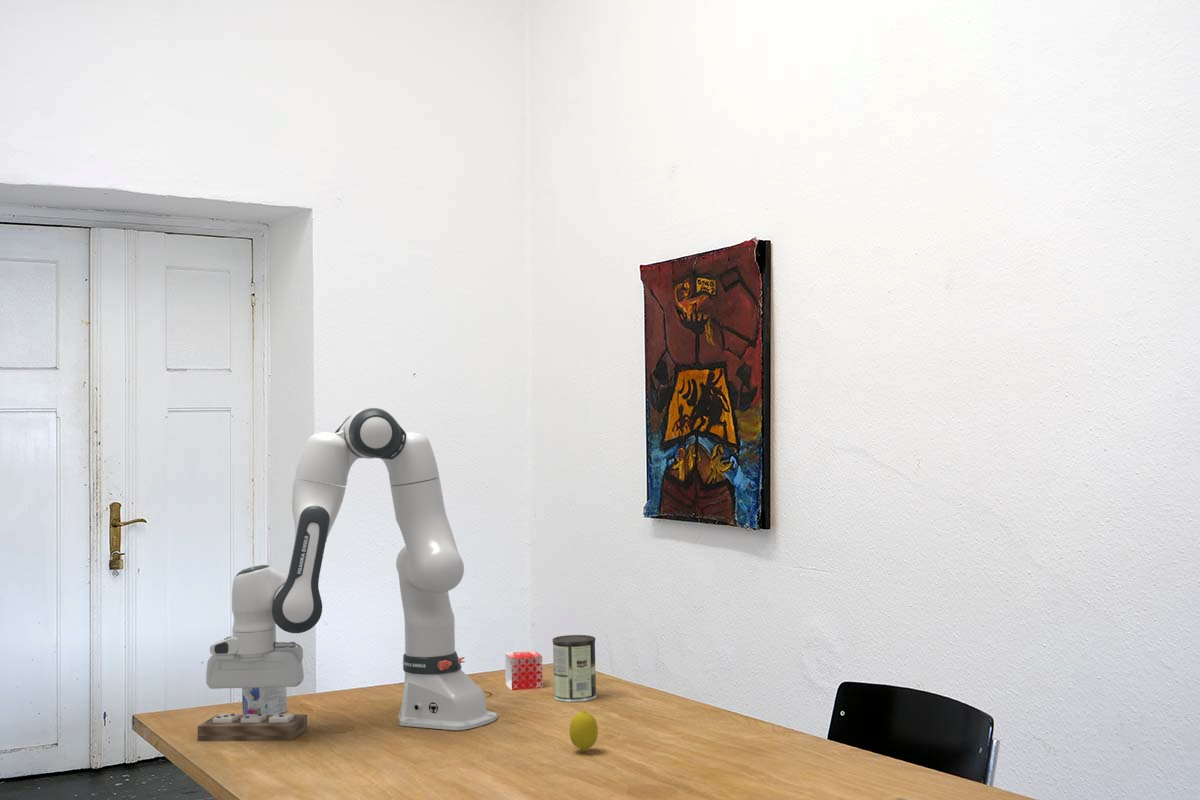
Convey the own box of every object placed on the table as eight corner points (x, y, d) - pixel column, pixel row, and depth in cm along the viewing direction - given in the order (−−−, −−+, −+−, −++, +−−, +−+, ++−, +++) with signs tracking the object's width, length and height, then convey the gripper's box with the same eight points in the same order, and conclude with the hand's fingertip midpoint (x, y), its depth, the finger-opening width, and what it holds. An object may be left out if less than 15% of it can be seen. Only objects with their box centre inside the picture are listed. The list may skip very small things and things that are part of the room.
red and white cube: (542, 688, 278) (542, 656, 279) (511, 690, 276) (511, 658, 277) (535, 682, 286) (535, 650, 286) (505, 684, 284) (505, 652, 284)
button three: (238, 725, 239) (238, 713, 239) (231, 730, 235) (231, 717, 235) (220, 725, 239) (220, 713, 239) (212, 730, 235) (212, 717, 235)
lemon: (601, 749, 220) (601, 707, 220) (592, 756, 215) (591, 714, 215) (575, 747, 222) (574, 706, 222) (565, 754, 216) (565, 712, 217)
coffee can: (573, 691, 274) (572, 633, 274) (605, 696, 267) (604, 637, 268) (544, 698, 266) (543, 639, 267) (576, 704, 259) (575, 643, 260)
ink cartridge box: (268, 710, 260) (268, 647, 260) (288, 711, 258) (287, 648, 258) (240, 719, 250) (240, 654, 251) (260, 721, 248) (260, 655, 249)
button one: (293, 725, 238) (293, 713, 238) (287, 730, 234) (287, 717, 234) (275, 725, 238) (275, 713, 239) (268, 730, 235) (268, 717, 235)
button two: (266, 725, 239) (266, 713, 239) (259, 730, 235) (259, 717, 235) (247, 725, 239) (247, 713, 239) (240, 730, 235) (240, 717, 235)
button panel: (307, 728, 241) (307, 714, 241) (292, 740, 231) (292, 725, 231) (216, 728, 242) (216, 714, 242) (197, 740, 232) (197, 726, 232)
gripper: (307, 639, 240) (308, 703, 240) (214, 641, 242) (215, 705, 241) (297, 644, 234) (299, 710, 233) (202, 646, 235) (203, 713, 235)
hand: (256, 708), depth 237 cm, fingers closed
